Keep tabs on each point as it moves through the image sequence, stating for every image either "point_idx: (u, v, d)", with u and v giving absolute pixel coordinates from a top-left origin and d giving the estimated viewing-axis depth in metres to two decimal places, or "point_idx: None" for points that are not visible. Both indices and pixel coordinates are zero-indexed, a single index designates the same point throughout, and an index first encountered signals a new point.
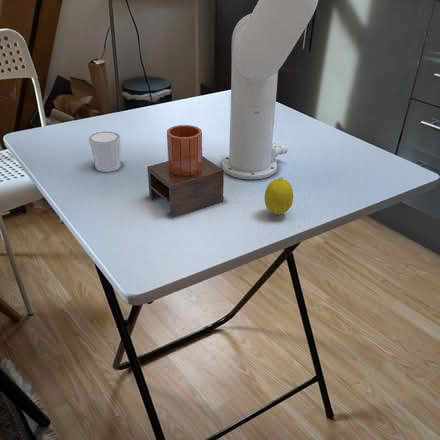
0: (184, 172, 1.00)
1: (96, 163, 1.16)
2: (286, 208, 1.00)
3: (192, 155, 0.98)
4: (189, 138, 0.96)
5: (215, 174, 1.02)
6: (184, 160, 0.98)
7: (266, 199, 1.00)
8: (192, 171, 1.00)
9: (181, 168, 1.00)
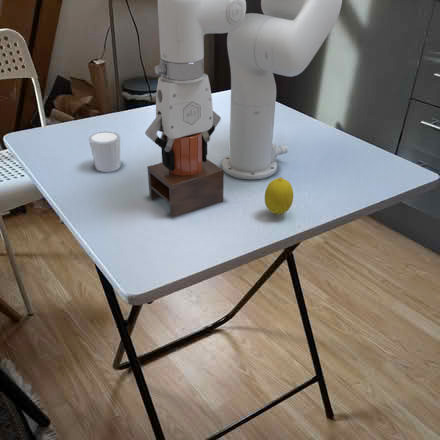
0: (184, 172, 1.00)
1: (96, 163, 1.16)
2: (286, 208, 1.00)
3: (192, 155, 0.98)
4: (189, 138, 0.96)
5: (215, 174, 1.02)
6: (184, 160, 0.98)
7: (265, 199, 1.00)
8: (192, 171, 1.00)
9: (181, 168, 1.00)
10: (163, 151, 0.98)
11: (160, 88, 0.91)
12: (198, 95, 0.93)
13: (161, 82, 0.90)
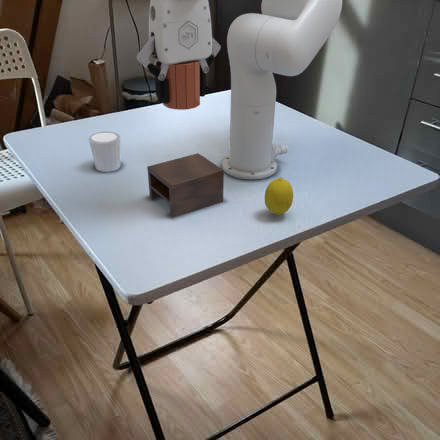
0: (180, 105, 0.91)
1: (96, 163, 1.16)
2: (286, 208, 1.00)
3: (188, 85, 0.89)
4: (185, 65, 0.87)
5: (215, 174, 1.02)
6: (180, 91, 0.89)
7: (265, 199, 1.00)
8: (189, 104, 0.91)
9: (176, 101, 0.90)
10: (157, 80, 0.89)
11: (153, 4, 0.81)
12: (195, 14, 0.83)
13: None
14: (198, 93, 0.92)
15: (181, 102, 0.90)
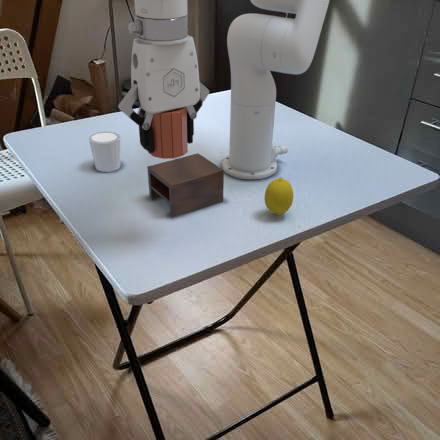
0: (166, 154, 0.85)
1: (96, 163, 1.16)
2: (286, 208, 1.00)
3: (175, 133, 0.83)
4: (171, 113, 0.81)
5: (215, 174, 1.02)
6: (166, 140, 0.83)
7: (265, 199, 1.00)
8: (175, 153, 0.85)
9: (162, 149, 0.84)
10: (141, 129, 0.83)
11: (135, 51, 0.75)
12: (181, 61, 0.77)
13: (136, 44, 0.75)
14: (185, 141, 0.86)
15: (167, 151, 0.84)
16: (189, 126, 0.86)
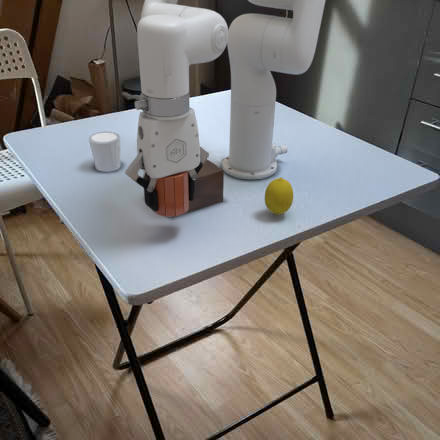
0: (169, 213, 0.92)
1: (96, 163, 1.16)
2: (286, 208, 1.00)
3: (177, 195, 0.90)
4: (174, 177, 0.88)
5: (215, 174, 1.02)
6: (168, 200, 0.90)
7: (265, 199, 1.00)
8: (177, 212, 0.92)
9: (165, 209, 0.91)
10: (145, 191, 0.90)
11: (141, 124, 0.82)
12: (183, 132, 0.84)
13: (142, 118, 0.82)
14: (187, 200, 0.92)
15: (170, 210, 0.91)
16: (190, 186, 0.93)
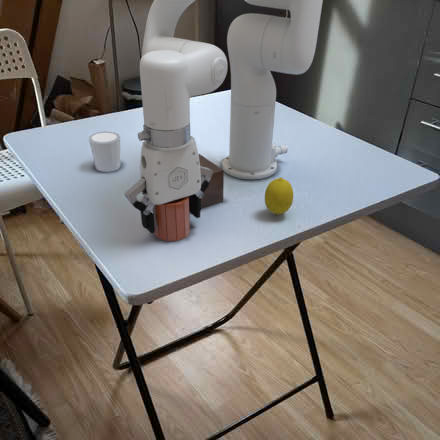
0: (170, 237, 0.95)
1: (96, 163, 1.16)
2: (286, 208, 1.00)
3: (178, 220, 0.93)
4: (175, 204, 0.91)
5: (215, 174, 1.02)
6: (170, 226, 0.93)
7: (265, 199, 1.00)
8: (179, 236, 0.95)
9: (167, 234, 0.94)
10: (142, 213, 0.92)
11: (144, 154, 0.86)
12: (184, 160, 0.87)
13: (145, 148, 0.85)
14: (188, 224, 0.96)
15: (171, 235, 0.94)
16: (197, 204, 0.96)
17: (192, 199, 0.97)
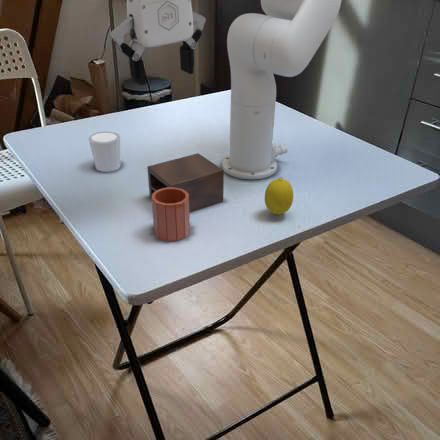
0: (170, 237, 0.95)
1: (96, 163, 1.16)
2: (286, 208, 1.00)
3: (178, 220, 0.93)
4: (175, 204, 0.91)
5: (215, 174, 1.02)
6: (170, 226, 0.93)
7: (266, 199, 1.00)
8: (179, 236, 0.95)
9: (167, 234, 0.94)
10: (131, 61, 0.85)
11: None
12: None
13: None
14: (188, 224, 0.96)
15: (171, 235, 0.94)
16: (189, 56, 0.89)
17: (184, 51, 0.90)
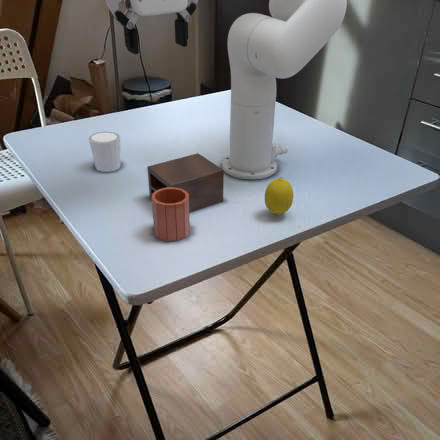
0: (170, 237, 0.95)
1: (96, 163, 1.16)
2: (286, 208, 1.00)
3: (178, 220, 0.93)
4: (175, 204, 0.91)
5: (215, 174, 1.02)
6: (170, 226, 0.93)
7: (266, 199, 1.00)
8: (179, 236, 0.95)
9: (167, 234, 0.94)
10: (125, 30, 0.87)
11: None
12: None
13: None
14: (188, 224, 0.96)
15: (171, 235, 0.94)
16: (184, 28, 0.91)
17: (179, 24, 0.92)
